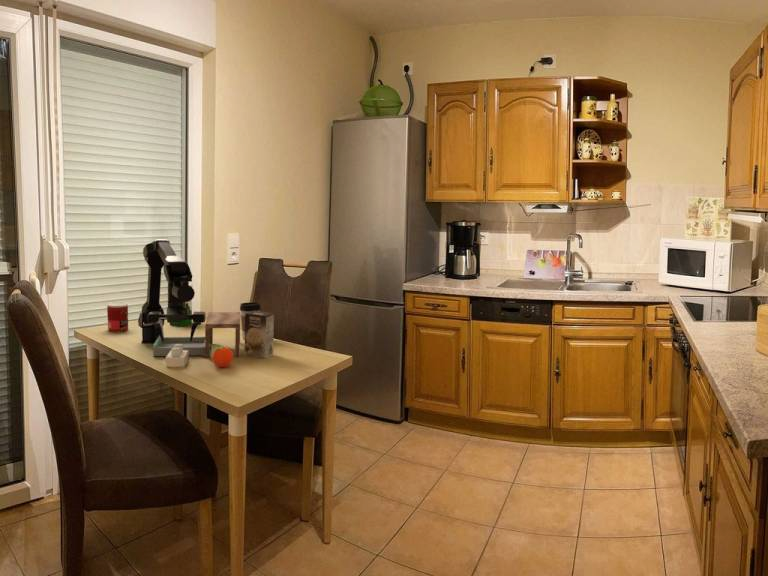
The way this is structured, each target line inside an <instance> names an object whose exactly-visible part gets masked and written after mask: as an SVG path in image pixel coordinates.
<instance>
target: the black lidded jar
mask: <svg viewBox="0 0 768 576" xmlns="http://www.w3.org/2000/svg"><path fill="white" fill-rule="evenodd" d="M239 305H240V306H239V311H240V325H241V331H242V332H241V335H242V340H244V341H245V313H248V312H251V311H261V303H260V302H241V303H240V304H239Z"/></svg>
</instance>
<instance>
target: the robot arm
mask: <svg viewBox="0 0 768 576" xmlns="http://www.w3.org/2000/svg"><path fill="white" fill-rule="evenodd" d="M142 255H143V257H144V261H145V262H146V264H147V266H148V267H147V268H148V270H147V271H148V272H147V291H146V301H145V303H144V304H143V305H142V306H141V312H140V313H139V316H138V320H137V323H138V327H140V329H141V337H142V338H141V344H147V343H148V344H151V343H152V344H154V343H155V341H156V340H157V338H158V336H159V335H160V337H161V340H162V342H164V337H165V334H164V333H165V332H164V325H165V320H166V323H169V324H170V323H172V322H177V323H181V322H182V320H192V323H191V329H190V336H189V337H190V341H192V338H193V337H194V335H195V332H196V330H197V327H198V326H200V325H201V324H202V323H206V320H207V316H206V312H205V311H193V312H192V314H189V311H188V308H186V303H185V302H189V301H191V300H192V301H193V299H194V298H195V294H196V292H195V290H194V288H193V286H192V287H191V286H189V284H190V282H193V274H192V270H191V267H190V266H189V263H188V262H187V261H186V259H184V258H183V257H180V256H177V254H176V252H175V251H174V249H173V248H172V246H171V243H170V240H168V239H155V240H153V241H151V242H149V243H146V244H145V246H144V247H143V249H142ZM162 269H163V275H164V277H165V280H166V282H167V308H166V313H165V312H164V309H163V307H162V305H161V304H160V301H161V300H160V297H161V284H162Z"/></svg>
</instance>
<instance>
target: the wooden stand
mask: <svg viewBox="0 0 768 576" xmlns="http://www.w3.org/2000/svg"><path fill="white" fill-rule="evenodd" d="M204 325H205V326H204V329H205V330H204V331H205V333H204V337H205V355H204V356H205V359H210V358H211V353H210V352H211V345H213V344H214V339H213V337H214V334H213V333H214V331H213V330H214V329H234V330H235V333H234V334H235V336H234V338H235V340H234V341H235V348H234V350H235V351H234V352H235V354H234V356H235V357H234V358H240V350H241V349H240V348H241V347H240V344H241V311H240V312H239V311H237V312H236V311H234V312H233V311H231V312H229V311H228V312H226V311H225V312H223V311H219V312H217V311H214V312H213V311H209V312H208V314H207V316H206V319H205V322H204Z"/></svg>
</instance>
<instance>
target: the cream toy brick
mask: <svg viewBox="0 0 768 576" xmlns="http://www.w3.org/2000/svg"><path fill="white" fill-rule="evenodd" d="M187 362H189V356H188V350H183V344H175V345H174V348H172V349H171V351H170V352H169V353H168V355H167V356H165V367H166V366H184V367H185V366H186V364H187Z"/></svg>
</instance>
